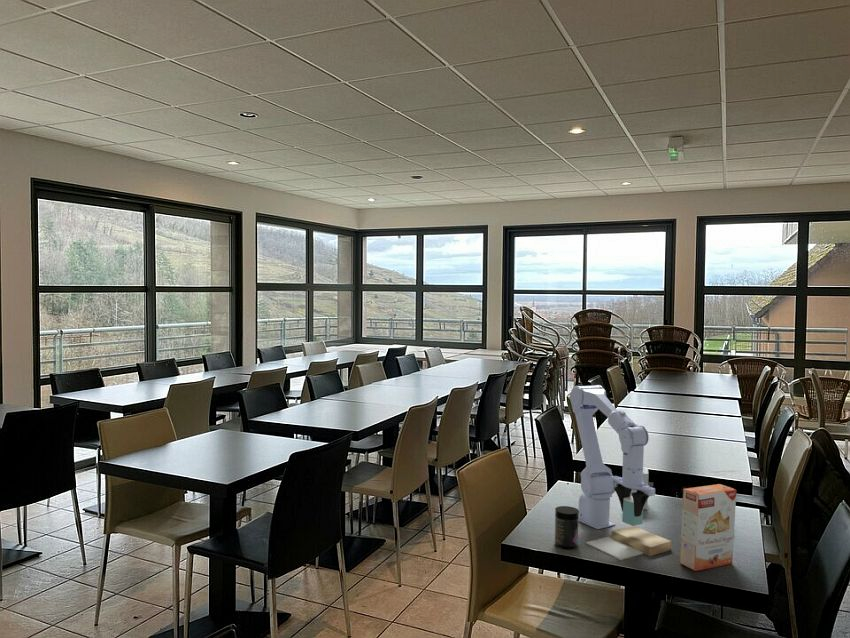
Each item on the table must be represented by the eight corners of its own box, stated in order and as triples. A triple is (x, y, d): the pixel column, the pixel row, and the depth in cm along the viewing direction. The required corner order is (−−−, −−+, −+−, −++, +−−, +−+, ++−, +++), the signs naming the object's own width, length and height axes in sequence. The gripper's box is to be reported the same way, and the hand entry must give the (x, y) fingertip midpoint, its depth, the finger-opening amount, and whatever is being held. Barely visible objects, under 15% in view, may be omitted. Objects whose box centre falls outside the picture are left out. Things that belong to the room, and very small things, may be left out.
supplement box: (624, 507, 215) (626, 471, 215) (624, 501, 222) (625, 465, 222) (647, 510, 213) (648, 473, 213) (646, 503, 220) (648, 468, 220)
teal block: (622, 521, 185) (623, 498, 185) (631, 519, 187) (632, 496, 187) (633, 526, 181) (634, 502, 181) (642, 523, 184) (643, 500, 183)
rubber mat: (586, 543, 184) (586, 542, 184) (607, 537, 188) (607, 536, 188) (620, 560, 172) (620, 558, 172) (643, 553, 177) (643, 552, 177)
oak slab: (611, 538, 188) (611, 530, 187) (632, 533, 192) (632, 525, 192) (650, 556, 176) (650, 547, 175) (671, 549, 180) (671, 541, 180)
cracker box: (696, 572, 165) (699, 494, 165) (678, 563, 171) (681, 487, 170) (734, 564, 171) (737, 488, 170) (716, 556, 177) (719, 482, 176)
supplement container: (572, 552, 177) (573, 515, 177) (550, 546, 181) (551, 510, 181) (581, 544, 183) (582, 509, 182) (559, 538, 187) (560, 504, 186)
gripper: (662, 471, 179) (661, 518, 180) (622, 460, 192) (621, 504, 192) (646, 475, 176) (644, 523, 176) (606, 463, 188) (605, 507, 188)
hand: (631, 513), depth 184 cm, fingers closed on teal block, 4 cm apart
